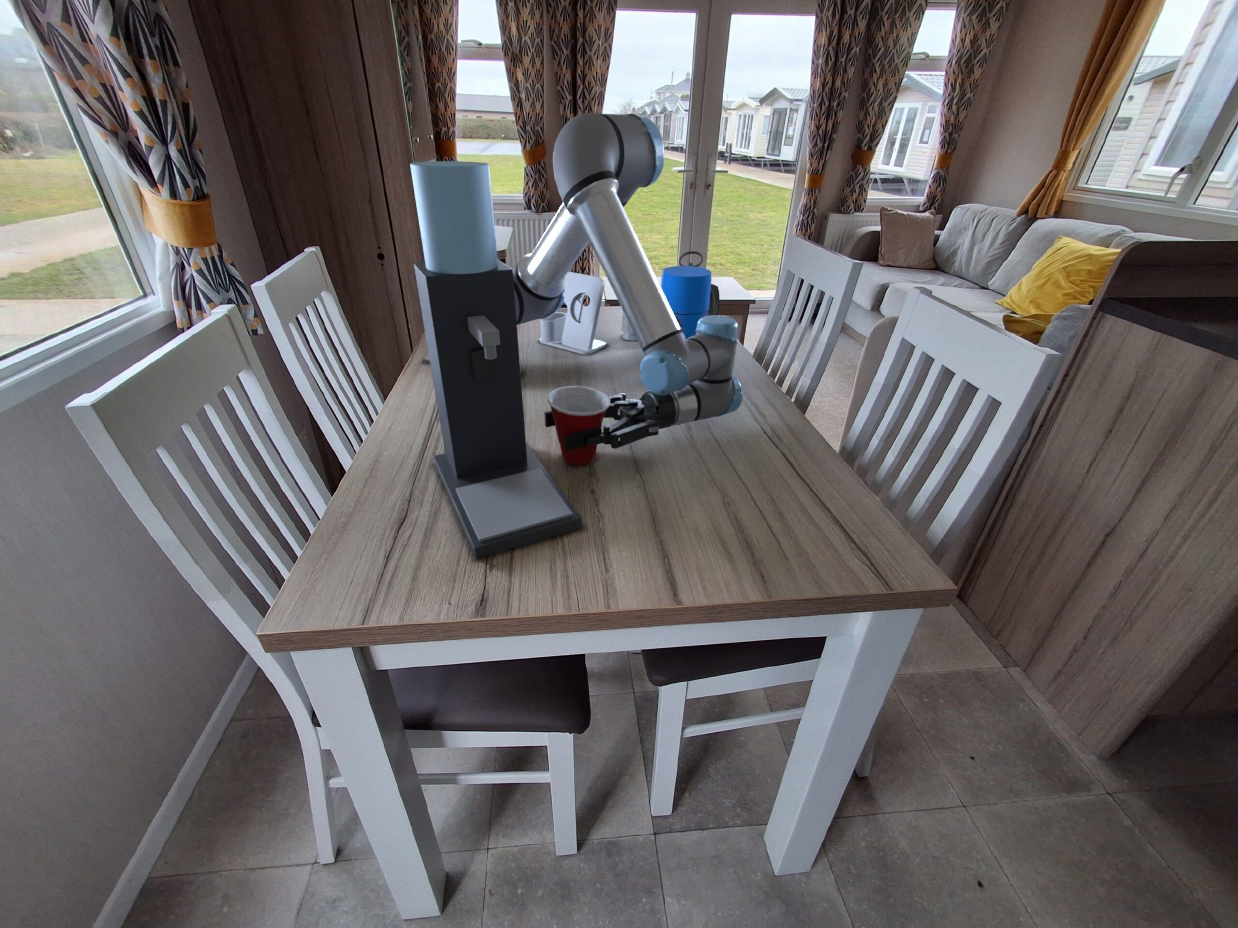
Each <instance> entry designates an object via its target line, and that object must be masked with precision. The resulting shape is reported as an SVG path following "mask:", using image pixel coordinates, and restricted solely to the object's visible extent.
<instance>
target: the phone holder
mask: <svg viewBox="0 0 1238 928" xmlns="http://www.w3.org/2000/svg"><path fill="white" fill-rule="evenodd" d="M564 287H565V292H564V293H563V295H564V296H565V297H564V301H563V303H564V304H565V305H566V307H567V310H566V312H563V311H557V312H556V313H554V314H552V315H550V316H549V317H546V318H543V319H539V327H540V338H539V343H540V344H544V345H547V346H551V347H554V348H558V349H561V350H565V351H569V352H573V353H576V354H580V355H584V356H586V355H590V354H593V353H596V352H597V351H599V350H601V349H603V348H606V347H607V342H606V341H603V340H600V339H596V338H595V335H596V330H597V327H598V326H597V325H598V321H599V316H600V311H601V306H602V301H603V296H604V291H605V281H604V280H603V278H601V277H598V276H594V275H588V274H583V273H578V272H572V271H568V273H567V274H566V275H565V277H564ZM586 296H587V297H589V304H588V305H587V306H585V305H584V303H583V300H584V298H585V297H586Z"/></svg>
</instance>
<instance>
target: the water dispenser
mask: <svg viewBox="0 0 1238 928" xmlns="http://www.w3.org/2000/svg"><path fill="white" fill-rule="evenodd" d="M409 166H410V172H411V179H412V185H413V191H414V200H415V205H416V211H417V218H418V224H419V230H420V237H421V245H422V251H423V257H424V262H416V263H415V262H414V263H413V267H414V273H415V279H416V285H417V292H418V298H419V304H420V309H421V310H420V311H421V315H422V322H423V329H424V335H425V339H426V345H427V352H428V358H429V359H428V360H430V364H429V365H430V370H431V371H430V372H431V376H432V380H433V381H432V382H433V390H434V395H435V401H436V406H437V412H438V419H439V424H440V431H441V436H442V443H443V449H444V453H441V454H435V455H433V461H434V466H435V468H436V470H437V473H438V475H439V478H440V480H441V482H442V484H443V487H444V489H445V491H446V493H447V496H448V498H449V500H450V503H451V505H452V507H453V510H454V512H455V514H456V516H457V519H458V521H459V524H460V526H461V528H462V531H463V532H464V535H465V537H466V540H467V542H468V544H469V547H470V549H471V551H472V554H473V556H474V558H475V559H476V560H479V559H482V558H486V557H489V556H492V555H496V554H499V553H502V552H506V551H509V550H513V549H517V548H520V547H523V546H526V545H530V544H533V543H538V542H541V541H543V540H547V539H551V538H554V537H557V536H561V535H565V534H567V533H572V532H575V531H579V530H581V529H582V528H583V527H582V524H583V522H582V521H583V519H582V517H581V515H580V514H579V512H578V511H577V510H576V508H575V507H574V505H573V504H572V503H571V502H570V500H569V499H568V498H567V496H566V495H565V494H564V493H563V491H562V490H561V488H560V487H559V486H558V484H557V483H556V481H555V480H554V479H553V478H552V476H551V475H550V473H549V472H548V471H547V470H546V468H545V466H543V464H542V462H541V461H540V460H539V458H538V457H537V456H536V455H535V454H534V452H533V451H532V449H531V447H529V445H528V444H527V440H526V439H527V438H526V427H525V425H526V424H525V414H524V403H523V402H524V401H523V400H524V399H523V390H522V389H523V388H522V376H521V375H522V372H521V373H520V361H521V359H520V347H519V336H518V325H517V321H516V308H515V295H514V282H513V270H514V269H512V268H511V266H508V265H507V264H506V263H504V262H502V261H501V260H499V258H498V251H497V238H496V227H495V218H494V217H495V216H494V206H493V194H492V193H493V192H492V184H491V172H490V164H489V163H488V162H480V161H462V160H461V161H457V160H456V161H455V160H453V161H452V160H447V161H446V160H437V161H435V160H434V161H433V160H432V161H431V160H430V161H429V160H428V161H416V162H410V163H409Z"/></svg>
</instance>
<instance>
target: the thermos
mask: <svg viewBox="0 0 1238 928" xmlns="http://www.w3.org/2000/svg"><path fill="white" fill-rule="evenodd" d="M660 281H661V282H660V286H661V288H662V290H663V292H664V294H665V296H666V298H667V300H668V303H669V305H670V307H671V309H672V311H673V313H674V315H675V317H676V319H677V321H678V324H679V326H680V328H681V330H682V332H683V334H684V336H685V338H686V339H687V338H689V337H692V336H694V335H696V329H697V323H698V321H699V319H700V318H702V317H704V316H708V308H709V299H710V289H711V284H712V271H711V270H710V269H707V268H705V267H700V266H698V267H694V265H693V266H689V265H684V266H680V265H673V266H667V267H664V268H663V269H662V275H661V280H660Z"/></svg>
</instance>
